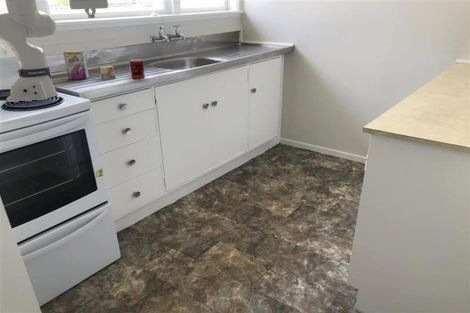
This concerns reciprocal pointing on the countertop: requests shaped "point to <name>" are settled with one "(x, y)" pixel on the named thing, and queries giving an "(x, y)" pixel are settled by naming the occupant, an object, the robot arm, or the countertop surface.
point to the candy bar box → (76, 64)
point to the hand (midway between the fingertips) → (91, 18)
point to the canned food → (137, 68)
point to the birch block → (107, 72)
